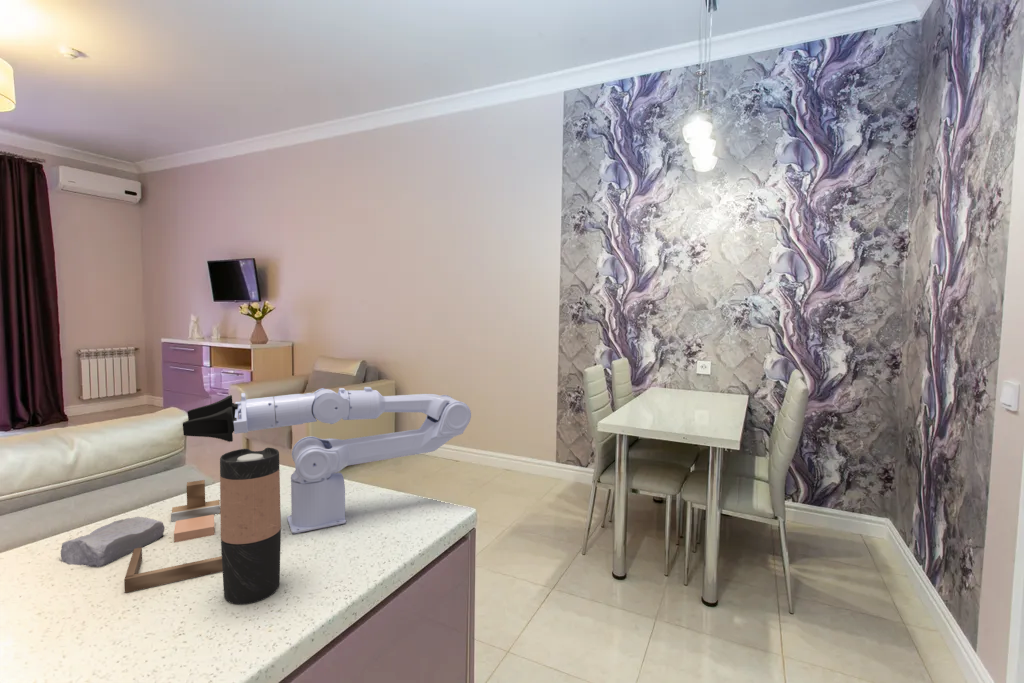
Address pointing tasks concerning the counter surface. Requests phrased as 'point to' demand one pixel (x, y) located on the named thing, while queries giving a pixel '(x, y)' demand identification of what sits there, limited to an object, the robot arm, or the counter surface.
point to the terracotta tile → (194, 528)
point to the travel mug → (250, 524)
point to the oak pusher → (195, 503)
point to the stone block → (111, 541)
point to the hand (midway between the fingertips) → (185, 422)
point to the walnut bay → (166, 572)
